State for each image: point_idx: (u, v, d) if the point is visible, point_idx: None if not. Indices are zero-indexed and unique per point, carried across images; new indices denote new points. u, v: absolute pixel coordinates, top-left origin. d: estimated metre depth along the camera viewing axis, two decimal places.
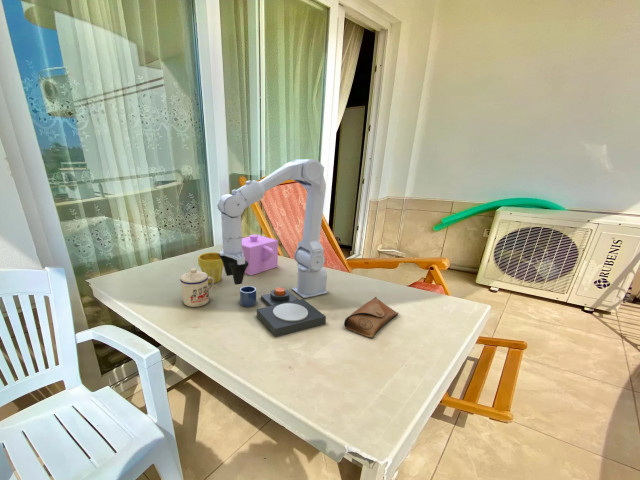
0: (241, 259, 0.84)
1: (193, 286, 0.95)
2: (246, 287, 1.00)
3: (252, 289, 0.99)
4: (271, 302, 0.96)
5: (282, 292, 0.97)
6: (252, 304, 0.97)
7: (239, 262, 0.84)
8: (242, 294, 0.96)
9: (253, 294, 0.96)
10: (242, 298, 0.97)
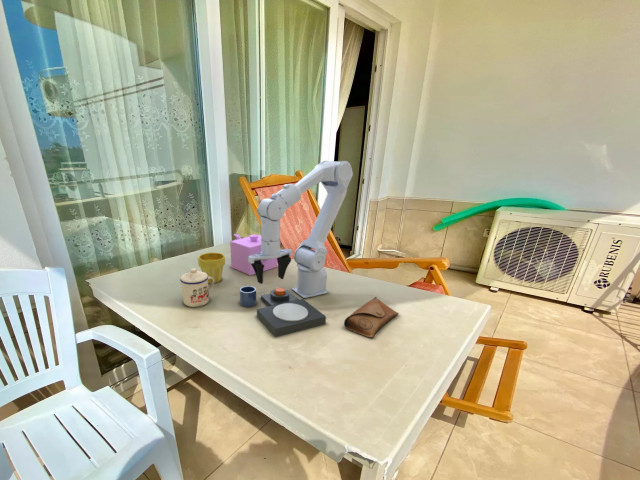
0: (249, 258, 0.91)
1: (193, 286, 0.95)
2: (246, 287, 1.00)
3: (252, 289, 0.99)
4: (271, 302, 0.96)
5: (282, 292, 0.97)
6: (252, 304, 0.97)
7: (248, 260, 0.92)
8: (242, 294, 0.96)
9: (253, 294, 0.96)
10: (242, 298, 0.97)
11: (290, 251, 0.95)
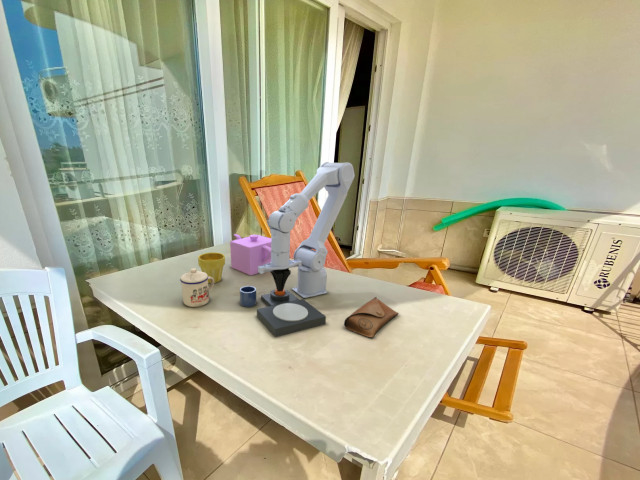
0: (259, 268, 0.93)
1: (193, 286, 0.95)
2: (246, 287, 1.00)
3: (252, 289, 0.99)
4: (271, 302, 0.96)
5: (282, 293, 0.97)
6: (252, 304, 0.97)
7: (258, 270, 0.94)
8: (242, 294, 0.96)
9: (253, 294, 0.96)
10: (242, 298, 0.97)
11: (299, 262, 0.97)
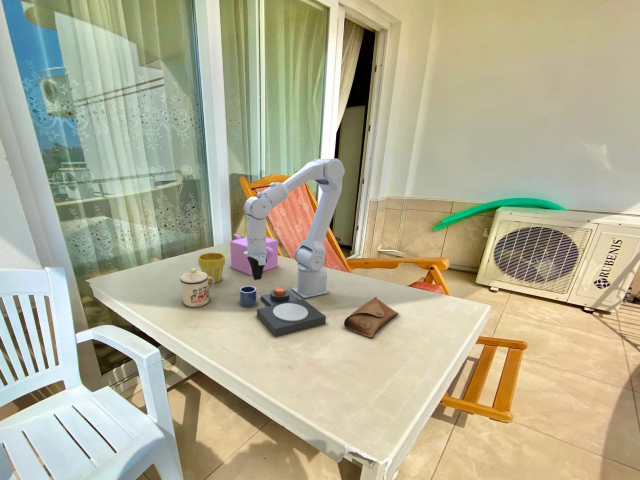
0: (262, 260, 0.87)
1: (193, 286, 0.95)
2: (246, 287, 1.00)
3: (252, 289, 0.99)
4: (271, 302, 0.96)
5: (282, 292, 0.97)
6: (252, 304, 0.97)
7: (260, 263, 0.87)
8: (242, 294, 0.96)
9: (253, 294, 0.96)
10: (242, 298, 0.97)
11: None
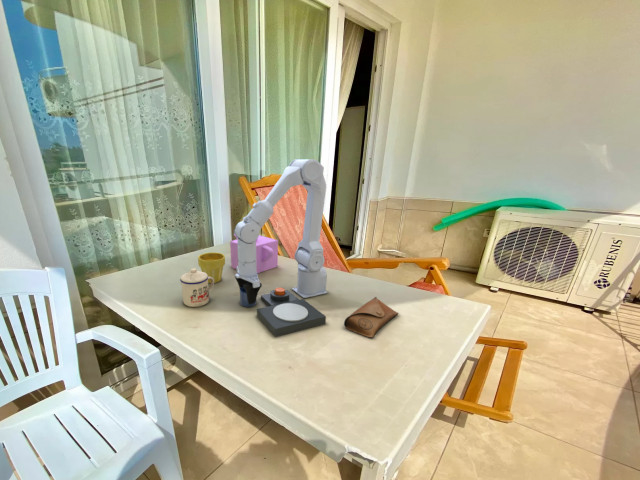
0: (256, 282, 0.89)
1: (193, 286, 0.95)
2: None
3: None
4: (271, 302, 0.96)
5: (282, 292, 0.97)
6: (252, 304, 0.97)
7: (254, 285, 0.90)
8: (242, 294, 0.96)
9: None
10: (242, 298, 0.97)
11: None
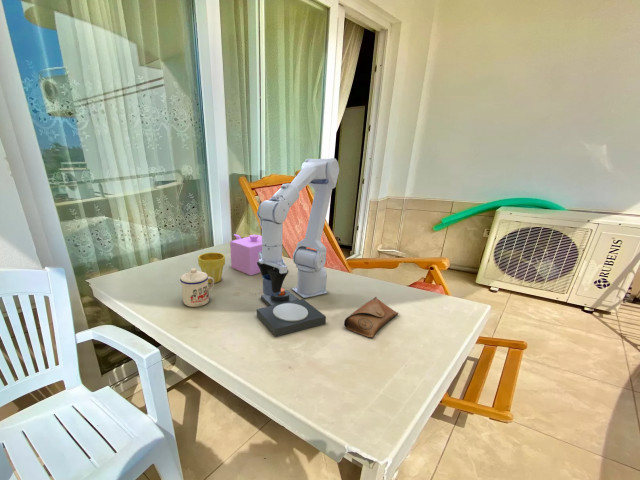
0: (284, 268, 0.81)
1: (193, 286, 0.95)
2: (269, 275, 0.91)
3: None
4: (271, 302, 0.96)
5: (282, 292, 0.97)
6: (277, 293, 0.88)
7: (281, 271, 0.81)
8: (266, 282, 0.87)
9: None
10: (266, 286, 0.88)
11: None
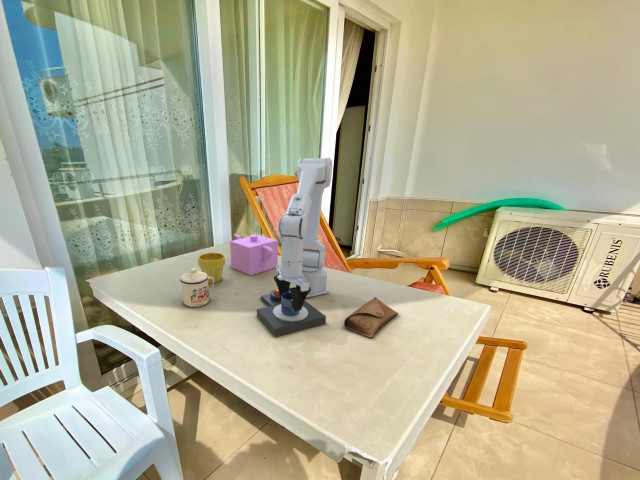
0: (305, 285, 0.77)
1: (193, 286, 0.95)
2: (288, 293, 0.88)
3: None
4: (271, 302, 0.96)
5: None
6: (296, 313, 0.85)
7: (303, 289, 0.77)
8: (285, 302, 0.84)
9: None
10: (284, 306, 0.85)
11: None
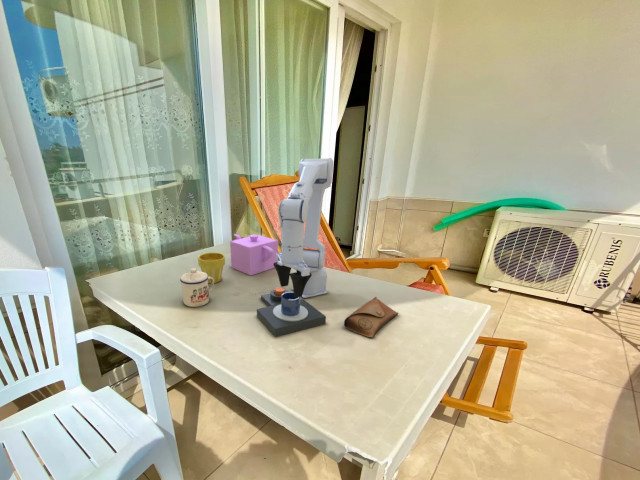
0: (306, 270, 0.76)
1: (193, 286, 0.95)
2: (288, 293, 0.88)
3: None
4: (271, 302, 0.96)
5: (282, 292, 0.97)
6: (296, 313, 0.85)
7: (304, 273, 0.76)
8: (285, 302, 0.84)
9: (297, 301, 0.84)
10: (284, 306, 0.85)
11: None
